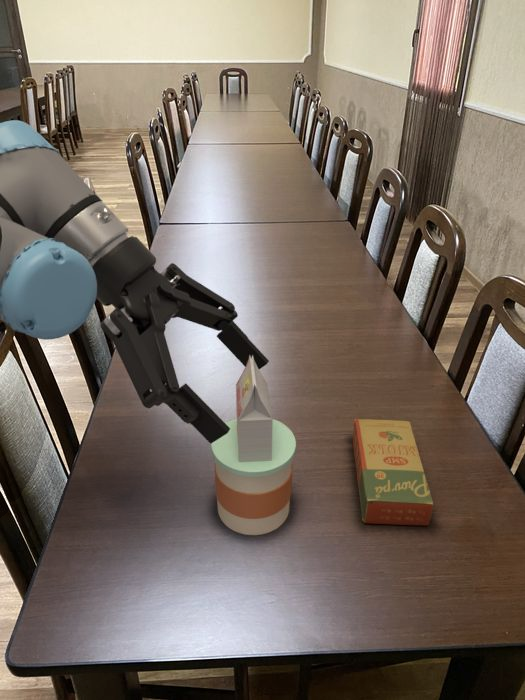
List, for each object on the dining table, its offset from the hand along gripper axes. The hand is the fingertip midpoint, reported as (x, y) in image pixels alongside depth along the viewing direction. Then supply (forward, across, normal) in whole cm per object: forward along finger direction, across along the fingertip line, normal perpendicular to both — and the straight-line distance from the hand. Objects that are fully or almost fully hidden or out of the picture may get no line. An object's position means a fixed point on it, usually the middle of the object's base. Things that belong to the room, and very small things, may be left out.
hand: (242, 399), depth 60 cm
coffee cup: (+13, 0, +11) cm, 17 cm away
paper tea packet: (+5, 0, +4) cm, 6 cm away
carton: (+24, +10, 0) cm, 26 cm away
